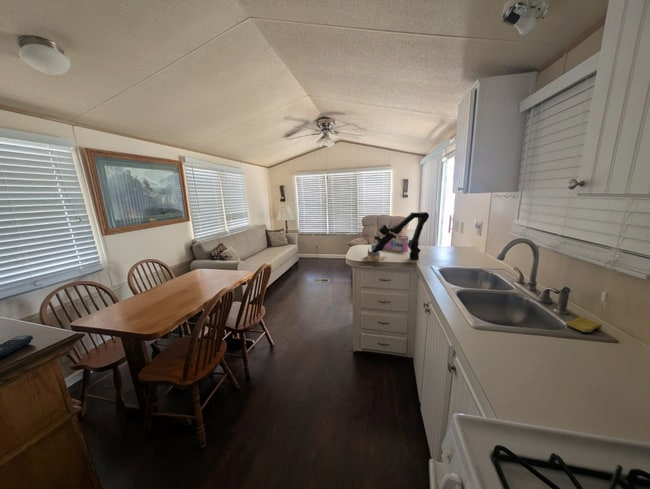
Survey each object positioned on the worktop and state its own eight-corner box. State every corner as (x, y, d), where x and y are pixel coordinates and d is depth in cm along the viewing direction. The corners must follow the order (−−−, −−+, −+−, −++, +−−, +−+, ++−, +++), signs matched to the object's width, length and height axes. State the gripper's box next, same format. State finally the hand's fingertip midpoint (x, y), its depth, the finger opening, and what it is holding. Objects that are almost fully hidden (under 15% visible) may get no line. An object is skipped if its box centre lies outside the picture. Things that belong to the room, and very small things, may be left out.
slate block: (378, 257, 208) (378, 243, 205) (377, 259, 202) (378, 245, 200) (371, 257, 209) (371, 243, 206) (371, 259, 204) (371, 245, 201)
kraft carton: (386, 257, 211) (386, 248, 209) (387, 261, 196) (387, 252, 195) (368, 256, 214) (368, 247, 212) (367, 261, 200) (367, 251, 198)
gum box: (382, 248, 244) (382, 234, 241) (386, 246, 249) (387, 233, 246) (403, 252, 227) (404, 237, 224) (408, 250, 232) (408, 236, 229)
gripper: (380, 230, 209) (367, 242, 214) (380, 233, 191) (365, 247, 196) (389, 239, 209) (376, 251, 213) (390, 243, 191) (375, 256, 196)
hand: (373, 251), depth 205 cm, fingers open, 6 cm apart
